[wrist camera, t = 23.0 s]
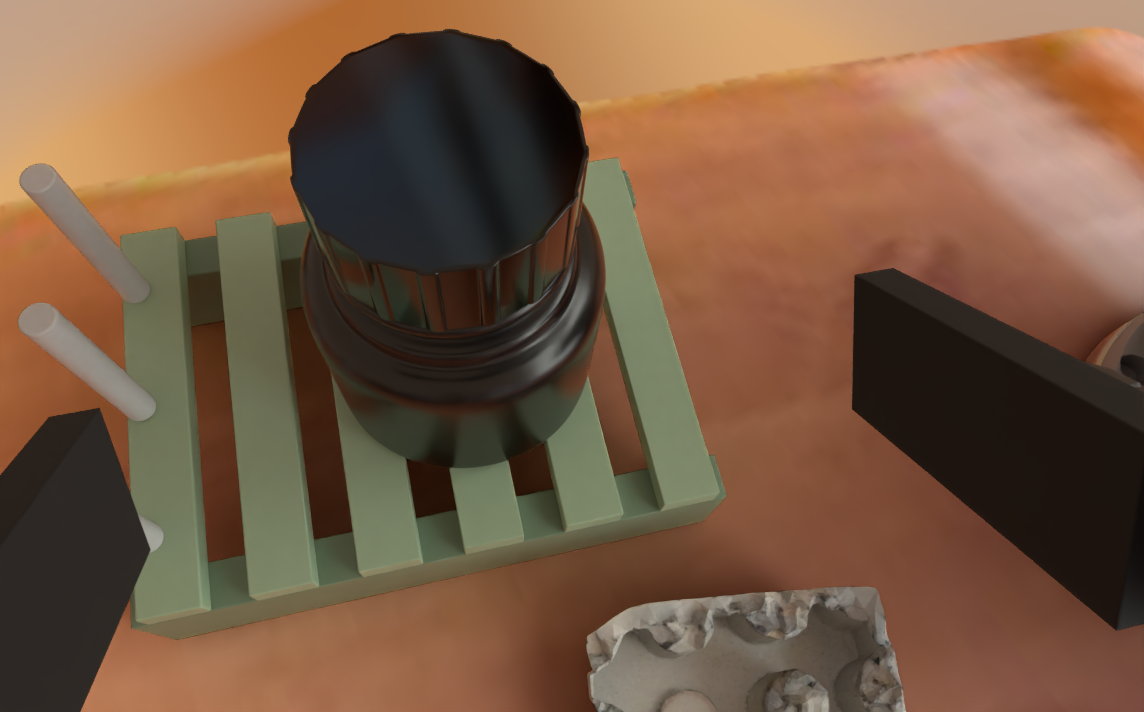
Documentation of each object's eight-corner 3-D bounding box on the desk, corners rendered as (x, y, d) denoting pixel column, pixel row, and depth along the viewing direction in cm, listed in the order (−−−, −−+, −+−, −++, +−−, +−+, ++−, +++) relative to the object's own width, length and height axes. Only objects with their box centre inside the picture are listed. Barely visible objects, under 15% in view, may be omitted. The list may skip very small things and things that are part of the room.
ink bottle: (590, 241, 33) (631, -5, 22) (612, 465, 29) (674, 308, 18) (329, 249, 32) (234, -3, 21) (320, 481, 28) (200, 326, 17)
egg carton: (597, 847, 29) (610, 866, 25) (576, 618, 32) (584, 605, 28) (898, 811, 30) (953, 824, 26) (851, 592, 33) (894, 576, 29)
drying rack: (616, 221, 39) (657, 24, 28) (704, 521, 34) (797, 424, 23) (156, 298, 36) (0, 111, 25) (175, 640, 31) (-10, 594, 20)
